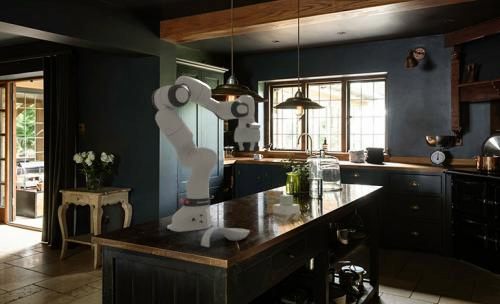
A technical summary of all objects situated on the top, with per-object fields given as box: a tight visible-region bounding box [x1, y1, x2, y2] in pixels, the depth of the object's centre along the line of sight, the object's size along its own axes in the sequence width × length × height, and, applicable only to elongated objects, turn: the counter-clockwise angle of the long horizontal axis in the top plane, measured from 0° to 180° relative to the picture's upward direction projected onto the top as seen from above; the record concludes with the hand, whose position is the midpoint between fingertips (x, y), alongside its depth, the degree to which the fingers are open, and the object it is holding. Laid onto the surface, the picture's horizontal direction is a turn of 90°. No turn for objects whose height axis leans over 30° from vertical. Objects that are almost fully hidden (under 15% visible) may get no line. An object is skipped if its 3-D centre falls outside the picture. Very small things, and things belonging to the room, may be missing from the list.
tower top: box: [273, 203, 301, 215], centre depth 220 cm, size 10×10×4 cm
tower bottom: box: [272, 211, 301, 223], centre depth 220 cm, size 10×10×4 cm
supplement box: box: [266, 189, 284, 215], centre depth 236 cm, size 8×5×13 cm, turn 62°
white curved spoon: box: [200, 226, 250, 248], centre depth 176 cm, size 24×12×7 cm, turn 137°
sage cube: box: [280, 194, 294, 206], centre depth 219 cm, size 5×5×5 cm
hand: (246, 150), depth 228 cm, fingers open, 8 cm apart
